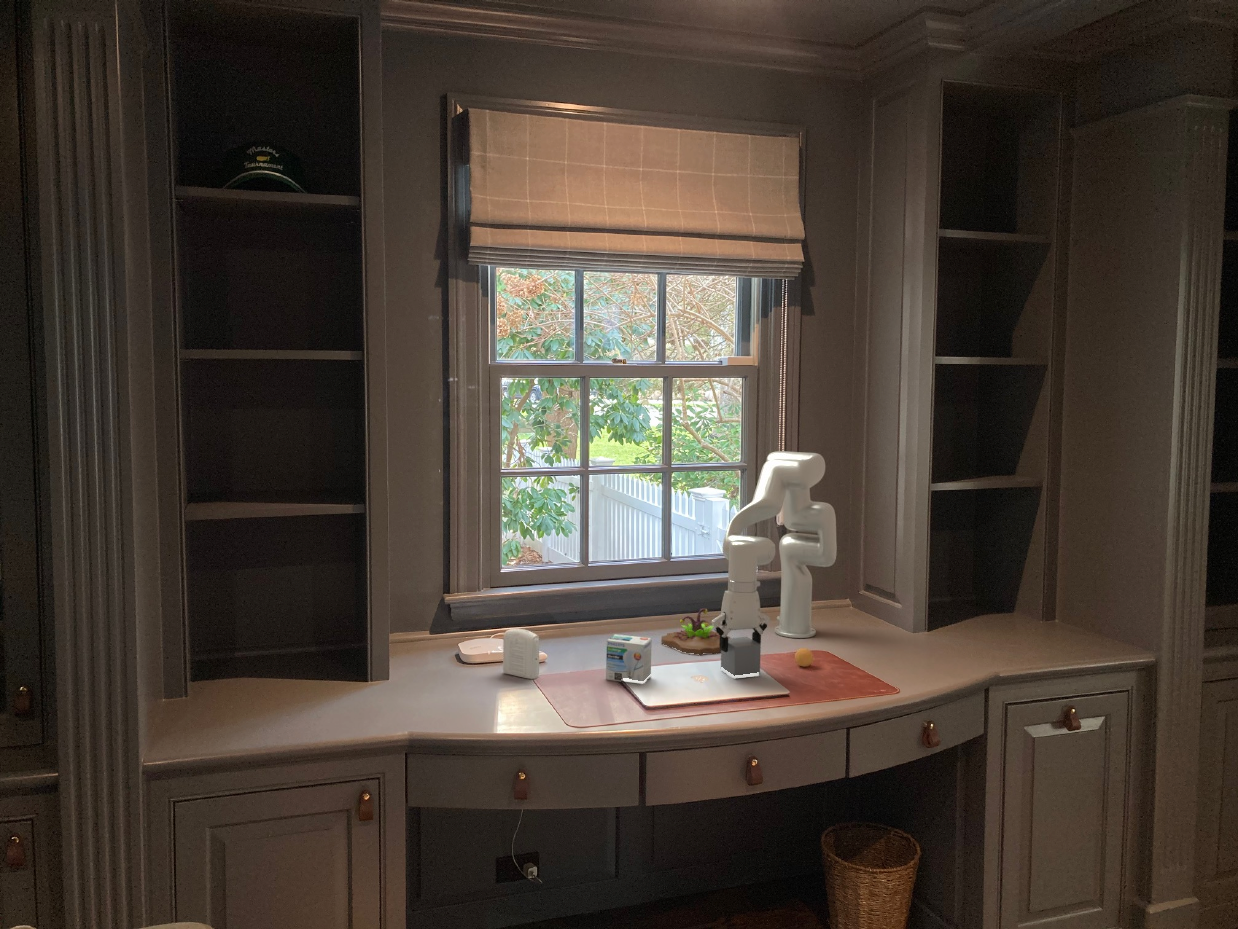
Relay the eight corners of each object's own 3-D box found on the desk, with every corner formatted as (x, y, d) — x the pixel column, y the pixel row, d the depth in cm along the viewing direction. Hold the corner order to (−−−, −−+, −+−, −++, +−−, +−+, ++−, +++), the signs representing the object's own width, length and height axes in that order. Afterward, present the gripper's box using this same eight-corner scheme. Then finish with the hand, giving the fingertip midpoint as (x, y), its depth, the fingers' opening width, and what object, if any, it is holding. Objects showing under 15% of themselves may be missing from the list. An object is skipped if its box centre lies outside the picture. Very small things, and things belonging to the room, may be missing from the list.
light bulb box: (605, 680, 240) (605, 639, 239) (614, 672, 246) (614, 633, 246) (643, 685, 237) (644, 644, 236) (651, 677, 243) (652, 637, 242)
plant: (745, 649, 271) (746, 612, 270) (693, 659, 260) (694, 621, 259) (702, 633, 288) (703, 598, 287) (652, 642, 277) (653, 606, 276)
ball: (791, 664, 255) (791, 647, 255) (806, 662, 257) (807, 645, 257) (800, 669, 251) (801, 652, 250) (816, 668, 253) (817, 650, 252)
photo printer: (541, 676, 243) (541, 630, 241) (532, 680, 239) (532, 634, 238) (510, 669, 248) (510, 625, 247) (500, 674, 244) (500, 628, 243)
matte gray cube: (720, 670, 249) (721, 639, 248) (745, 668, 252) (746, 636, 251) (734, 679, 242) (735, 647, 241) (759, 676, 245) (760, 644, 244)
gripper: (763, 582, 251) (761, 643, 252) (706, 585, 245) (704, 648, 246) (777, 587, 244) (775, 650, 245) (719, 591, 238) (717, 655, 239)
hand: (740, 649), depth 246 cm, fingers open, 9 cm apart
